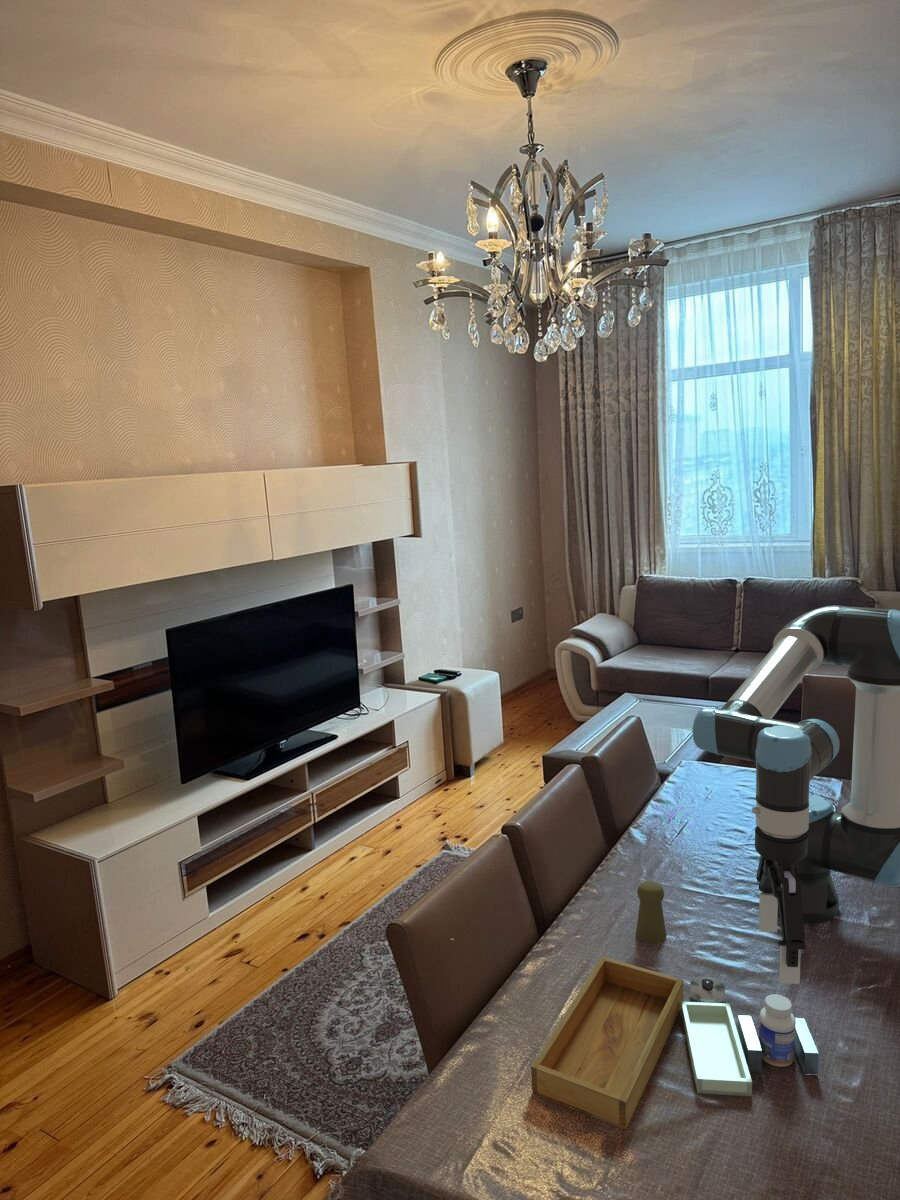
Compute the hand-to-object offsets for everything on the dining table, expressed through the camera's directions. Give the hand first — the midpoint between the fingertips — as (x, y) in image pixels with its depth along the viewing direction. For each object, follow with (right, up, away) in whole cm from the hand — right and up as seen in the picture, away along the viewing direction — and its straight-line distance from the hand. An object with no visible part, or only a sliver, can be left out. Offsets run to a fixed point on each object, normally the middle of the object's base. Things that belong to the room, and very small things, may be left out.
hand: (778, 955), depth 131 cm
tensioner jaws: (+1, -18, +3) cm, 18 cm away
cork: (-11, -12, +38) cm, 41 cm away
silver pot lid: (-5, -15, +18) cm, 24 cm away
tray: (-25, -19, +7) cm, 32 cm away
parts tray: (-9, -18, +5) cm, 20 cm away
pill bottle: (+1, -18, +3) cm, 18 cm away
